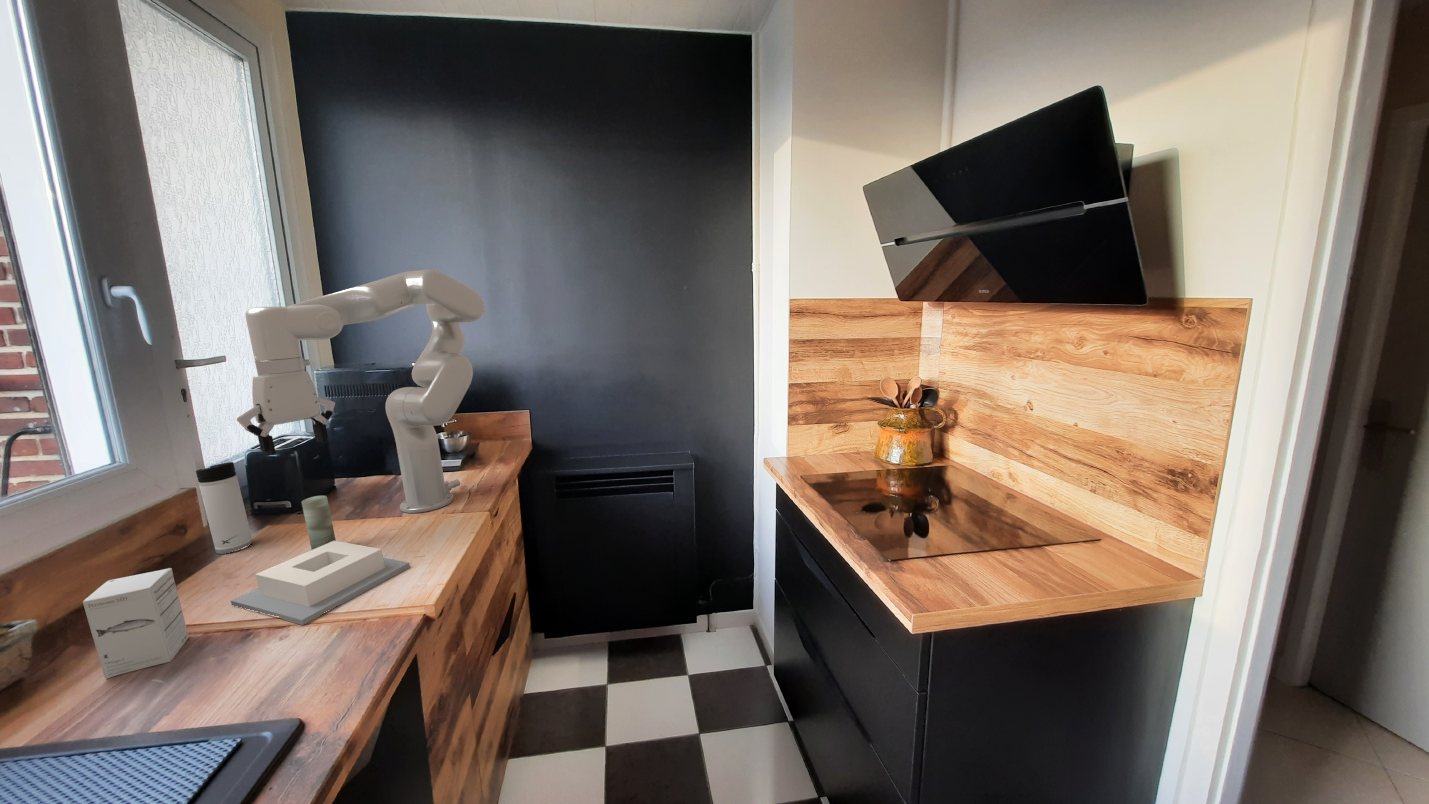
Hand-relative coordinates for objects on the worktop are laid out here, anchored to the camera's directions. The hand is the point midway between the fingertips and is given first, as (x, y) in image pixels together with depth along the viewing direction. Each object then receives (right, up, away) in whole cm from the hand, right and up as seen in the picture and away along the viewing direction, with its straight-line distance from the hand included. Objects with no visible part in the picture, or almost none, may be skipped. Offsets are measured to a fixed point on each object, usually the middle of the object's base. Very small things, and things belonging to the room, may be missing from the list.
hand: (296, 448), depth 111 cm
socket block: (+14, -25, -11) cm, 31 cm away
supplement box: (+1, -30, -30) cm, 42 cm away
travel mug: (-20, -24, +8) cm, 32 cm away
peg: (+3, -23, +4) cm, 24 cm away
